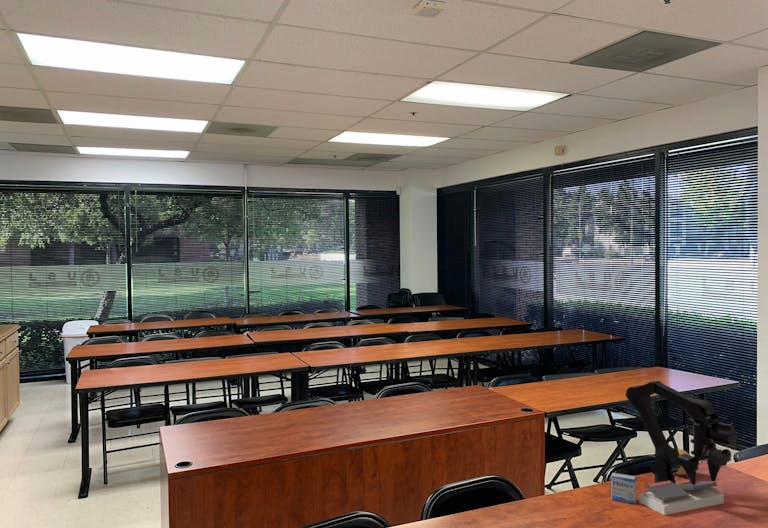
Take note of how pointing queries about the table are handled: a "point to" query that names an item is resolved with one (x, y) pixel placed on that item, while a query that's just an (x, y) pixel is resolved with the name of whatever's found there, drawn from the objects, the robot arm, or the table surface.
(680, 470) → the stress ball
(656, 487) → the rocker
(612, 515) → the table surface
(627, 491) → the medicine box
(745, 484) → the table surface
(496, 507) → the table surface
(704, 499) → the light switch base
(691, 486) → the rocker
